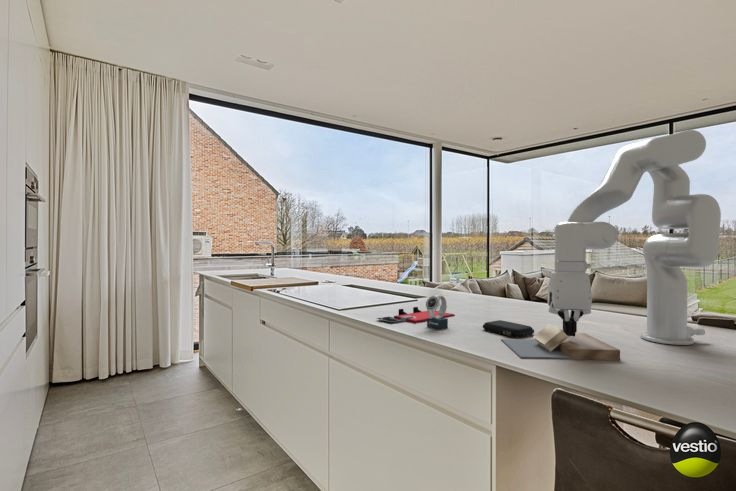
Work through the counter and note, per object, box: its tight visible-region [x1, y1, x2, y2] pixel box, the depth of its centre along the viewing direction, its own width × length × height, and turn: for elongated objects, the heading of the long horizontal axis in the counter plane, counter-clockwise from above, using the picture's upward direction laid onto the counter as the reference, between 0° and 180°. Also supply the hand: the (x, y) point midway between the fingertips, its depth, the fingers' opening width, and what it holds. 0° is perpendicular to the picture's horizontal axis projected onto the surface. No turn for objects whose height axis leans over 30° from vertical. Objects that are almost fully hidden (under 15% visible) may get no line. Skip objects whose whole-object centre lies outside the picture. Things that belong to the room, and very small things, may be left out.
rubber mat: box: [500, 338, 571, 360], centre depth 107 cm, size 12×18×1 cm, turn 176°
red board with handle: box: [376, 306, 456, 325], centre depth 151 cm, size 30×3×15 cm
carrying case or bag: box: [482, 319, 535, 339], centre depth 126 cm, size 11×3×15 cm
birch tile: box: [532, 323, 568, 352], centre depth 106 cm, size 6×8×2 cm
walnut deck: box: [556, 332, 621, 361], centre depth 106 cm, size 12×18×2 cm, turn 176°
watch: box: [425, 294, 449, 330], centre depth 134 cm, size 6×8×11 cm
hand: (569, 335), depth 106 cm, fingers closed
